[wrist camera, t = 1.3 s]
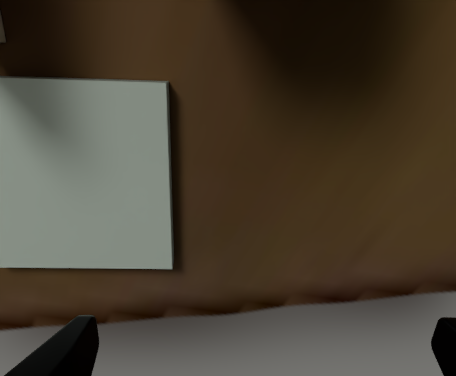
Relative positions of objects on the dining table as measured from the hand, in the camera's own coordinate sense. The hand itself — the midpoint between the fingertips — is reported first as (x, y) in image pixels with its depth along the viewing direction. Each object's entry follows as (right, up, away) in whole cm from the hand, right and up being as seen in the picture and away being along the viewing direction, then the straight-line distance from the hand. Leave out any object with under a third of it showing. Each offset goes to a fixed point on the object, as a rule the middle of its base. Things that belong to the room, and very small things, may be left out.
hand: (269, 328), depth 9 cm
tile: (-8, +4, +7) cm, 12 cm away
